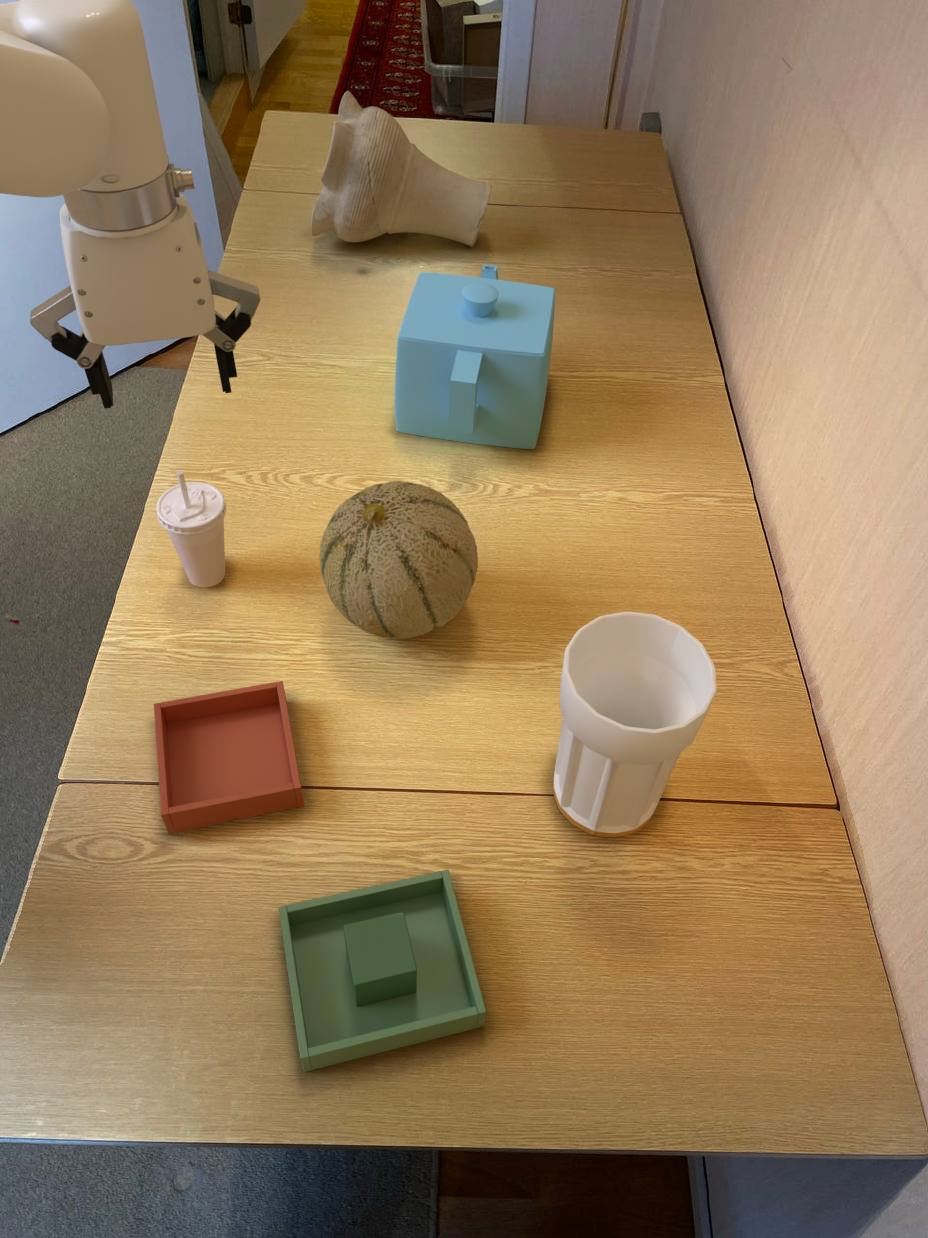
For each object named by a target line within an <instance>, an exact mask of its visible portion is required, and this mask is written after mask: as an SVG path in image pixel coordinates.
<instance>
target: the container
mask: <svg viewBox="0 0 928 1238" xmlns="http://www.w3.org/2000/svg"><path fill="white" fill-rule="evenodd" d="M498 268H499V267H498V265H493V264H485V263H484V264H483V265H482V267H481V271H480V275H479V277H478V276H469V275H459V274H451V273H442V272H441V273H440V272H428V271H427V272H426V271H423V272H422V271H421V272H419V274H418V276H417V279H416V281H415V284H414V286H413V290H412V291H411V292H412V293H411V296H410V298H409V301H408V303H407V307H406V310H405V313H404V316H403V318H402V321H401V325H400V328H399V332H398V335H397V343H396V356H395V357H396V358H395V374H394V421H395V422H394V423H395V429H396V431H397V432H398V433H402V434H407V435H413V436H418V437H425V438H431V439H437V440H444V441H452V442H458V443H467V444H474V445H484V446H491V447H492V446H493V447H501V448H508V449H509V448H510V449H521V450H535V449H536V446H537V442H538V439H539V434H540V431H541V430H540V429H541V425H542V420H543V414H544V408H545V403H546V402H545V401H546V397H547V396H546V395H547V390H548V382H549V375H550V366H551V359H552V350H553V349H552V347H553V338H554V325H555V308H556V307H555V306H556V289H555V288H554V287H550V286H546V285H539V284H532V283H527V282H518V281H512V280H511V281H509V280H502V279H499V272H498Z"/></svg>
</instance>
